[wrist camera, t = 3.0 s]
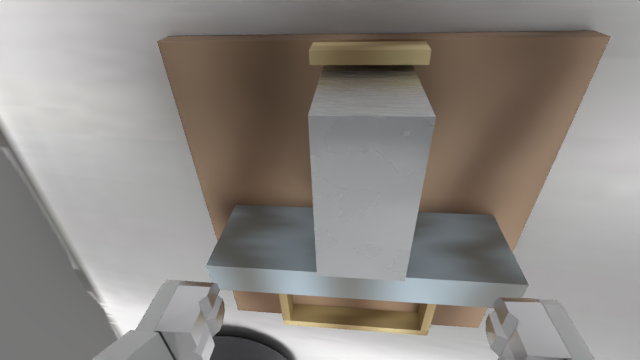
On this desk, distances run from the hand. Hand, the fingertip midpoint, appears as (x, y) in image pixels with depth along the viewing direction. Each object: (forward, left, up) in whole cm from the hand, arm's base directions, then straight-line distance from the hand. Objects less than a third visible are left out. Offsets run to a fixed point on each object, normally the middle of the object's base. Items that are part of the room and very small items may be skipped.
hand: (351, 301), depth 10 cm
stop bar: (0, 0, -10) cm, 10 cm away
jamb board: (0, +6, -11) cm, 12 cm away
